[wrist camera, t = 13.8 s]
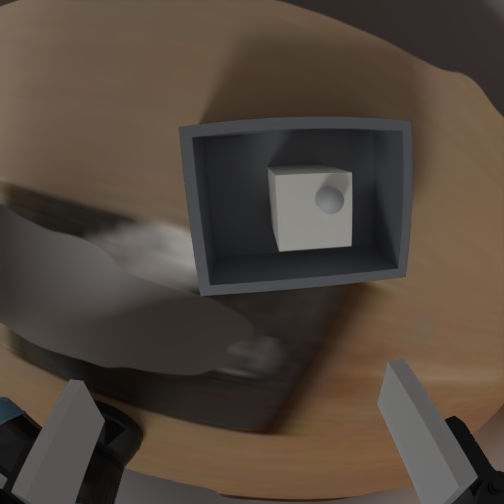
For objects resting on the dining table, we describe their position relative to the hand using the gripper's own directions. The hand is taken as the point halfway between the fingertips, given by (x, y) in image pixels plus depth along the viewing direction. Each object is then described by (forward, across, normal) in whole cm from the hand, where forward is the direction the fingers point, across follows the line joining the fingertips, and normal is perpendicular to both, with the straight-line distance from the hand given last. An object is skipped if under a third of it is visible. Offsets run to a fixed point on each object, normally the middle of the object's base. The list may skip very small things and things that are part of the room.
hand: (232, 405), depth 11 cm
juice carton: (+23, +7, +5) cm, 24 cm away
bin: (+24, +7, +5) cm, 25 cm away
